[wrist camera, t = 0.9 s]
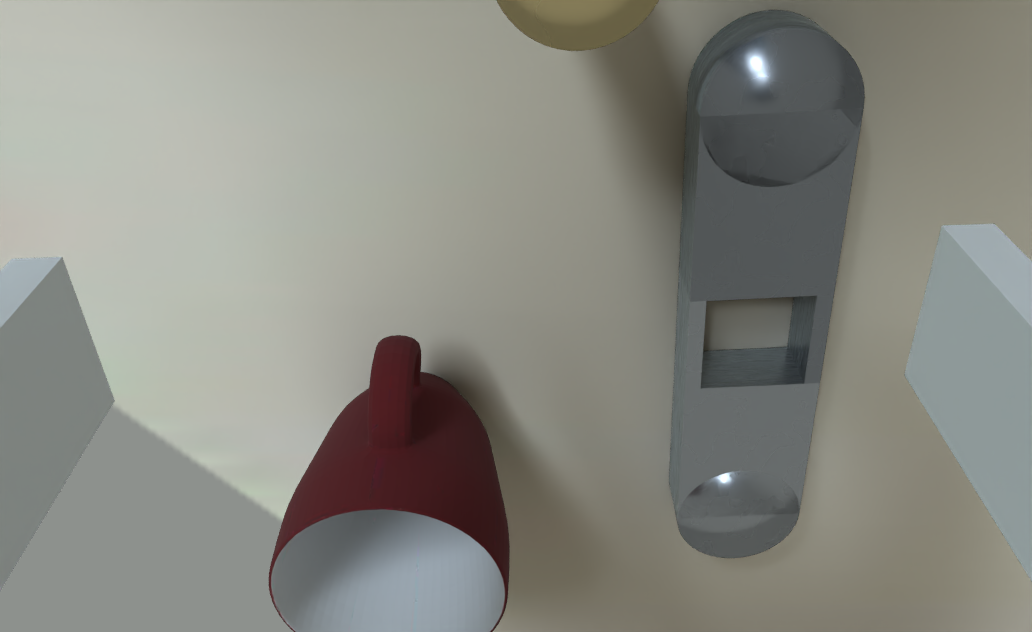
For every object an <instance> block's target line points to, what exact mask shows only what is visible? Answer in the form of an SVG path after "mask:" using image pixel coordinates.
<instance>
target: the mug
mask: <svg viewBox="0 0 1032 632" xmlns="http://www.w3.org/2000/svg"><path fill="white" fill-rule="evenodd" d="M420 370H421V349H420V345H419V343H418V342H417V341H416V340H415V339H413V338H411V337H408V336H401V335H397V336H389V337H386V338H384V339H382V340H381V341H380V342H379V343H378V345H377V347H376V350H375V354H374V359H373V364H372V370H371V377H370V386H369V389H367V390H366V391H364V392H363V393H361V394H360V395H359V396H357V397H356V398H355V399H354V400H353V401H351V402H350V403H349V404H348V405H347V406H346V407H345V408H344V410H343V411H342V412H341V413H340V414H339V416H338V417H337V419H336V420H335V422H334V423H333V425H332V427H331V428H330V430H329V432H328V434H327V435H326V437H325V439H324V441H323V442H322V444H321V446H320V448H319V449H318V451H317V453H316V455H315V456H314V458H313V460H312V462H311V463H310V465H309V467H308V469H307V470H306V472H305V474H304V476H303V477H302V479H301V481H300V483H299V484H298V486H297V488H296V490H295V492H294V494H293V496H292V498H291V501H290V503H289V505H288V508H287V510H286V513H285V516H284V519H283V522H282V525H281V529H280V532H279V536H278V539H277V542H276V546H275V551H274V554H273V558H272V562H271V566H270V572H269V590H270V595H271V598H272V601H273V604H274V606H275V608H276V610H277V612H278V613H279V615H280V617H281V618H282V619H283V621H284V622H285V623H286V624H287V625H288V626H289V627H290V628H291V630H293V631H294V632H492V631H493V630H494V629H495V628H496V626H497V625H498V624H499V622H500V620H501V618H502V616H503V614H504V611H505V608H506V603H507V598H508V582H509V533H508V523H507V518H506V513H505V508H504V503H503V498H502V494H501V489H500V485H499V481H498V476H497V472H496V467H495V463H494V458H493V454H492V449H491V445H490V441H489V438H488V435H487V432H486V430H485V428H484V426H483V424H482V422H481V420H480V419H479V417H478V415H477V414H476V412H475V411H474V410H473V409H472V407H471V406H470V405H469V403H468V402H467V401H466V400H465V399H464V398H463V397H462V396H461V395H460V394H459V393H458V391H457V390H456V389H455V388H454V387H453V386H452V385H450V384H449V383H448V382H446V381H445V380H443V379H442V378H440V377H437V376H435V375H432V374H429V373H425V372H420Z"/></svg>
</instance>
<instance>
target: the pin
mask: <svg viewBox="0 0 1032 632" xmlns="http://www.w3.org/2000/svg"><path fill="white" fill-rule="evenodd" d="M658 1H659V0H497V2H498V4H499V6H500V7H501V9H502V11H503V12H504V14H505V15H506V16H507V18H508V19H509V20H510V21H511V22H512V23H513V24H514V25H515V26H516V27H517V28H518V29H519V30H520V31H521V32H523V33H524V34H525V35H527V36H528V37H530V38H532V39H533V40H535V41H537V42H539V43H541V44H544V45H546V46H549V47H552V48H556V49H561V50H568V51H583V50H591V49H596V48H599V47H603V46H606V45H608V44H611V43H613V42H616V41H617V40H619V39H621V38H623V37H625V36H626V35H627V34H629V33H630V32H632V31H633V30H634V29H636V28H637V27H638V26H639V25H640V24H641V23H642V22H643V21H644V20H645V19H646V18H647V16H648V15H649V14H650V13H651V12H652V10H653V9H654V7H655V6H656V4H657V2H658Z"/></svg>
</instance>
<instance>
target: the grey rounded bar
mask: <svg viewBox="0 0 1032 632" xmlns="http://www.w3.org/2000/svg"><path fill="white" fill-rule="evenodd" d="M864 98H865V97H864V85H863V80H862V76H861V73H860V70H859V68H858V66H857V64H856V62H855V61H854V59H853V58H852V57H851V55H850V54H849V53H848V51H846V50H845V49H844V48H843V47H842V46H841V45H840V44H839V43H838V42H837V41H836V40H834V39H833V38H832V37H831V36H830V35H829V34H828V33H827V32H825V31H824V30H823V29H822V28H821V27H820V26H819V25H818V24H816V23H815V22H813V21H812V20H810V19H809V18H807V17H805V16H802V15H800V14H797V13H794V12H789V11H783V10H768V11H760V12H756V13H752V14H749V15H746V16H744V17H741V18H739V19H737V20H735V21H734V22H732V23H730V24H728V25H727V26H726V27H724V28H723V29H721V30H720V31H719V32H718V33H717V34H716V35H715V36H713V38H712V39H711V40H710V41H709V42H708V43H707V44H706V46H705V47H704V48H703V50H702V51H701V53H700V54H699V56H698V58H697V60H696V62H695V64H694V67H693V69H692V72H691V75H690V79H689V85H688V95H687V116H686V137H685V158H684V178H683V199H682V220H681V241H680V261H679V282H678V303H677V324H676V345H675V365H674V386H673V407H672V428H671V448H670V469H669V485H670V490H671V494H672V499H673V504H674V509H675V513H676V518H677V523H678V527H679V531H680V533H681V535H682V537H683V538H684V540H685V541H686V542H687V543H688V544H689V545H690V546H692V547H693V548H694V549H696V550H698V551H700V552H702V553H704V554H707V555H710V556H715V557H721V558H740V557H746V556H751V555H755V554H758V553H761V552H763V551H766V550H768V549H770V548H772V547H773V546H775V545H777V544H778V543H779V542H781V541H782V540H783V539H784V538H785V537H786V536H787V535H788V534H789V533H790V532H791V531H792V529H793V528H794V526H795V524H796V522H797V520H798V516H799V511H800V505H801V498H802V492H803V486H804V479H805V473H806V467H807V461H808V454H809V448H810V442H811V435H812V429H813V423H814V417H815V410H816V404H817V398H818V391H819V385H820V379H821V373H822V366H823V360H824V354H825V347H826V341H827V335H828V328H829V322H830V316H831V310H832V303H833V297H834V291H835V284H836V278H837V272H838V266H839V259H840V253H841V247H842V240H843V234H844V228H845V222H846V215H847V209H848V203H849V196H850V190H851V184H852V178H853V171H854V165H855V159H856V152H857V146H858V140H859V134H860V127H861V121H862V115H863V108H864ZM778 297H794V301H793V308H792V316H791V323H790V331H789V339H788V346H787V347H780V348H759V349H738V350H717V351H703V344H704V330H705V315H706V301H717V300H737V299H758V298H778Z"/></svg>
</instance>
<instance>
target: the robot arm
mask: <svg viewBox="0 0 1032 632" xmlns="http://www.w3.org/2000/svg"><path fill="white" fill-rule="evenodd" d="M904 375H905V377H906V379H907V380H908V382H909V383H910V385H911V387H912V388H913V390H914V392H915V393H916V395H917V396H918V398H919V400H920V401H921V403H922V404H923V406H924V408H925V409H926V411H927V413H928V414H929V416H930V417H931V419H932V421H933V422H934V424H935V426H936V427H937V429H938V430H939V432H940V434H941V435H942V437H943V439H944V440H945V442H946V443H947V445H948V447H949V448H950V450H951V451H952V453H953V455H954V456H955V458H956V460H957V461H958V463H959V464H960V466H961V468H962V469H963V471H964V473H965V474H966V476H967V477H968V479H969V481H970V482H971V484H972V486H973V487H974V489H975V490H976V492H977V494H978V495H979V497H980V498H981V500H982V502H983V503H984V505H985V507H986V508H987V510H988V511H989V513H990V515H991V516H992V518H993V520H994V521H995V523H996V524H997V526H998V528H999V529H1000V531H1001V533H1002V534H1003V536H1004V537H1005V539H1006V541H1007V542H1008V544H1009V546H1010V547H1011V549H1012V550H1013V552H1014V554H1015V555H1016V557H1017V558H1018V560H1019V562H1020V563H1021V565H1022V567H1023V568H1024V570H1025V571H1026V573H1027V575H1028V576H1029V578H1030V580H1031V581H1032V261H1031V260H1030V259H1029V258H1028V257H1027V256H1026V255H1025V254H1024V253H1023V252H1022V251H1021V250H1020V249H1019V248H1018V247H1017V246H1016V245H1015V244H1014V243H1013V242H1012V241H1011V240H1010V239H1009V238H1008V237H1007V236H1006V235H1005V234H1004V233H1003V232H1002V231H1001V230H1000V229H999V228H998V227H997V226H996V225H995V224H972V225H944V226H942V227H941V231H940V235H939V239H938V243H937V247H936V251H935V255H934V259H933V263H932V267H931V271H930V275H929V279H928V283H927V287H926V291H925V295H924V299H923V303H922V307H921V311H920V315H919V319H918V323H917V327H916V331H915V335H914V339H913V343H912V347H911V351H910V355H909V358H908V362H907V366H906V370H905V374H904ZM114 401H115V400H114V397H113V395H112V392H111V389H110V386H109V384H108V381H107V378H106V376H105V373H104V370H103V367H102V365H101V362H100V359H99V356H98V354H97V351H96V348H95V345H94V343H93V340H92V337H91V334H90V332H89V329H88V326H87V324H86V321H85V318H84V315H83V313H82V310H81V307H80V304H79V302H78V299H77V296H76V293H75V291H74V288H73V285H72V282H71V280H70V277H69V274H68V272H67V269H66V266H65V263H64V261H63V258H62V257H49V258H21V259H11V260H10V261H9V262H8V263H7V264H6V265H5V266H4V267H3V269H2V270H1V271H0V591H1V589H2V587H3V586H4V584H5V582H6V581H7V579H8V577H9V576H10V574H11V572H12V571H13V569H14V567H15V566H16V564H17V562H18V561H19V559H20V557H21V556H22V554H23V553H24V551H25V549H26V548H27V546H28V544H29V543H30V541H31V539H32V538H33V536H34V534H35V532H36V531H37V529H38V528H39V526H40V524H41V523H42V521H43V519H44V518H45V516H46V514H47V513H48V511H49V509H50V508H51V506H52V504H53V503H54V501H55V499H56V498H57V496H58V494H59V493H60V491H61V489H62V488H63V486H64V484H65V483H66V481H67V479H68V478H69V476H70V474H71V473H72V471H73V469H74V468H75V466H76V464H77V463H78V461H79V459H80V458H81V456H82V454H83V453H84V451H85V449H86V448H87V446H88V444H89V443H90V441H91V439H92V438H93V436H94V434H95V433H96V431H97V429H98V428H99V426H100V424H101V423H102V421H103V419H104V418H105V416H106V415H107V413H108V411H109V409H110V408H111V406H112V405H113V403H114Z"/></svg>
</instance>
